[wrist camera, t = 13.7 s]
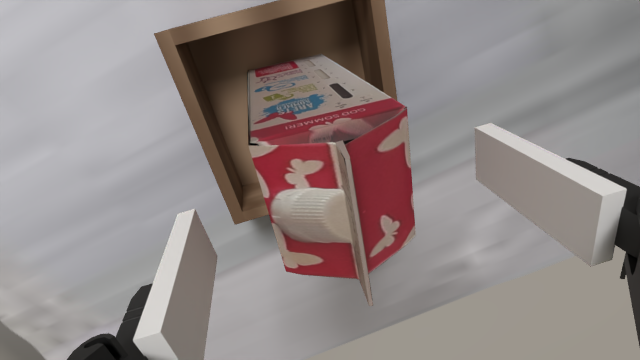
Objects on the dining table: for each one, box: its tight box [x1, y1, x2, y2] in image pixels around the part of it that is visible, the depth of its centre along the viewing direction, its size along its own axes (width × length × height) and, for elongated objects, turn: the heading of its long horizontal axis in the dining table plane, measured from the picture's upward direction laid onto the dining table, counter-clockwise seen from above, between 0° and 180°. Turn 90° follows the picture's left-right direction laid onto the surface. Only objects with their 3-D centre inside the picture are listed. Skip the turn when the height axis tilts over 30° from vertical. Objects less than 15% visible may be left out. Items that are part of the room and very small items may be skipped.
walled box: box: [154, 0, 397, 224], centre depth 30 cm, size 16×16×6 cm
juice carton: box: [247, 54, 415, 306], centre depth 22 cm, size 7×7×22 cm
